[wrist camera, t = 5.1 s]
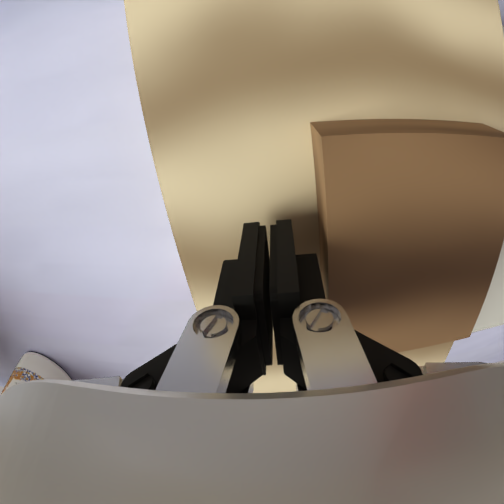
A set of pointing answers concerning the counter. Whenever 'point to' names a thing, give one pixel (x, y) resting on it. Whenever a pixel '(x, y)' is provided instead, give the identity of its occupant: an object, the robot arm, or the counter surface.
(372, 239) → the walnut tile
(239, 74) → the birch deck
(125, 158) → the counter surface
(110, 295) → the counter surface
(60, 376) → the bath foam
